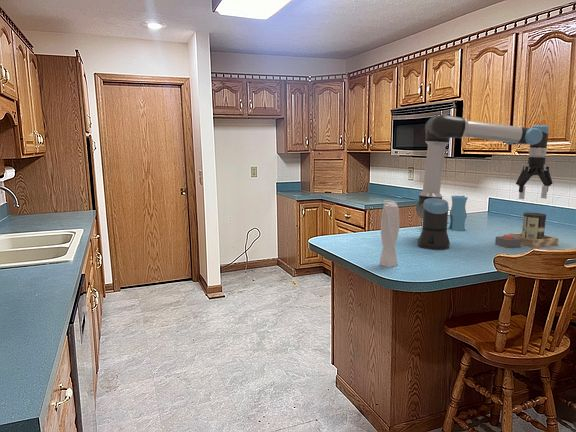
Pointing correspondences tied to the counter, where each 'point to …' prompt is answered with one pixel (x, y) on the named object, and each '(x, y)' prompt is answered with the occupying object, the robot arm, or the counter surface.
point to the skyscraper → (389, 233)
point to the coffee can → (533, 225)
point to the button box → (507, 242)
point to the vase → (458, 213)
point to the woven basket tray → (537, 241)
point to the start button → (508, 236)
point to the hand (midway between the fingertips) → (532, 198)
